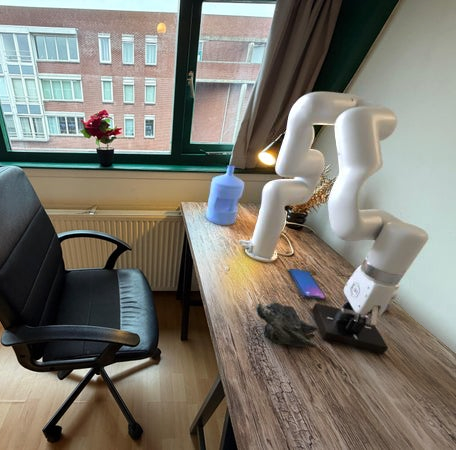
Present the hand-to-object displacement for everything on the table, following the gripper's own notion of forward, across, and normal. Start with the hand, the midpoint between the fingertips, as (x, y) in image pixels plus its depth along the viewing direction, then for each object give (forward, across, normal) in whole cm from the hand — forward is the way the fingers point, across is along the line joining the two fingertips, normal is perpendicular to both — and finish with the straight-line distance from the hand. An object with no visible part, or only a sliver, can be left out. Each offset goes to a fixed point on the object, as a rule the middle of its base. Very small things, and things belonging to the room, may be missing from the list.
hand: (349, 322), depth 68 cm
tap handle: (0, 0, 0) cm, 0 cm away
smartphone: (+3, -18, -6) cm, 19 cm away
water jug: (+3, -60, -38) cm, 71 cm away
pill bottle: (+3, -15, +14) cm, 21 cm away
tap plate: (+3, 0, 0) cm, 3 cm away
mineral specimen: (+3, +8, -18) cm, 20 cm away
